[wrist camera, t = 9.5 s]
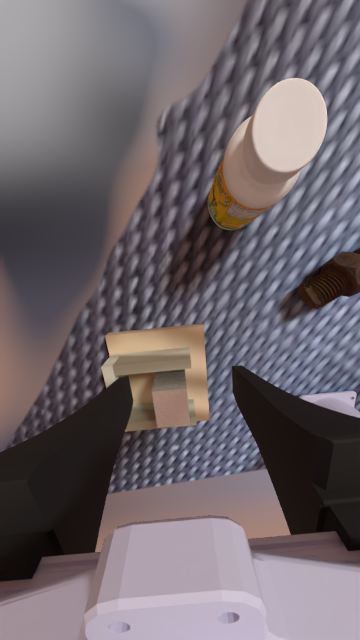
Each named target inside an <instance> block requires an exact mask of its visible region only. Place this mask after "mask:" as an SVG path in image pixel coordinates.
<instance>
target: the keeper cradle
mask: <svg viewBox="0 0 360 640" xmlns="http://www.w3.org/2000/svg"><path fill="white" fill-rule="evenodd" d="M105 338H106V343H107V347H108V351H109V356H110V357H109V358H108V360H107V361H106V362H105V363H104V365H103V366H102V367H101V368H102V372H103V376H104V380H105V384H106V388H107V387H108V386H109V385H111V384H112V383H113V382H114V381H115V380H117V379H118V378H119V377H126V376H129V381H130V386H131V391H132V396H133V401H134V402H133V407H132V411H131V416H130V419H129V422H128V424H127V427H126V430H125V432H126V431H137V430H147V429H158V428H157V421H156V415H155V409H154V403H153V397H152V388H153V383H154V379H155V374H156V372H160V371H170V370H181V369H185V374H186V384H187V394H188V405H189V416H190V425H197V424H196V421H203V420H210V419H209V404H208V388H207V373H206V357H205V342H204V326H203V324H195V325H184V326H174V327H164V328H154V329H144V330H134V331H124V332H113V333H108V334H106V335H105ZM190 425H182V426H190ZM172 427H179V426H172ZM161 428H168V427H161Z"/></svg>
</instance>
